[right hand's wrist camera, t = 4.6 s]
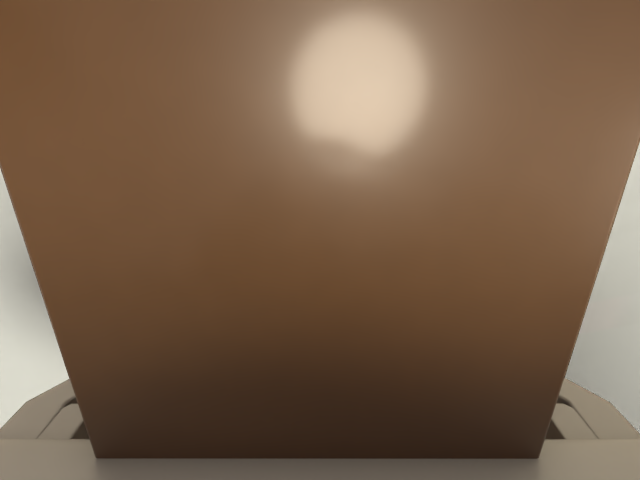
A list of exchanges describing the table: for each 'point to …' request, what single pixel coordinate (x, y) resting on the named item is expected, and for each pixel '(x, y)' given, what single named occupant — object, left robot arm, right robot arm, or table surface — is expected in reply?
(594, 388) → the table surface
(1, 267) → the table surface
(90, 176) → the box
